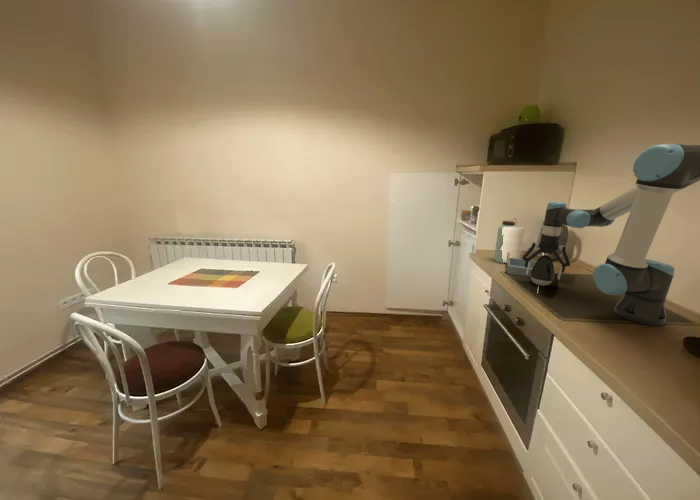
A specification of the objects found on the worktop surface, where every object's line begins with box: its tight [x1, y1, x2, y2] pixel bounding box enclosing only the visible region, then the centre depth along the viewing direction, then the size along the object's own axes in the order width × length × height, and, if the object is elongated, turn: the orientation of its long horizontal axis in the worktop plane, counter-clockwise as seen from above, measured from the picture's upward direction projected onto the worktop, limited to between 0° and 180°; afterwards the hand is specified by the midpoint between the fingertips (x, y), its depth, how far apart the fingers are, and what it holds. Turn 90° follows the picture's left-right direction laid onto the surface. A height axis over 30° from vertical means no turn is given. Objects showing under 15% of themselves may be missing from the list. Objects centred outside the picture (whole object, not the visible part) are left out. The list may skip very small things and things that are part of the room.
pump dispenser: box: [530, 254, 559, 287], centre depth 155 cm, size 10×10×15 cm
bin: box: [506, 257, 537, 278], centre depth 174 cm, size 19×19×4 cm
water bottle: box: [493, 220, 516, 264], centre depth 190 cm, size 10×10×25 cm
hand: (542, 276), depth 156 cm, fingers open, 13 cm apart
